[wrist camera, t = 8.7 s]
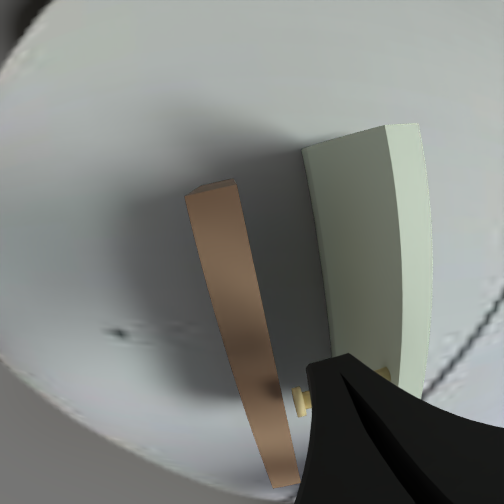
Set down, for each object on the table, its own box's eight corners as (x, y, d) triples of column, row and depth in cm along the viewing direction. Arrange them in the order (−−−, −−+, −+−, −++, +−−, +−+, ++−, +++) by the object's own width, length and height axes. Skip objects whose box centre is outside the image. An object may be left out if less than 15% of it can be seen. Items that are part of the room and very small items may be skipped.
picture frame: (284, 415, 19) (300, 482, 13) (262, 420, 19) (273, 488, 13) (233, 178, 15) (236, 184, 9) (201, 185, 15) (184, 196, 9)
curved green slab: (380, 378, 22) (438, 466, 12) (287, 406, 21) (315, 512, 12) (362, 140, 17) (478, 122, 7) (236, 160, 17) (246, 143, 7)
